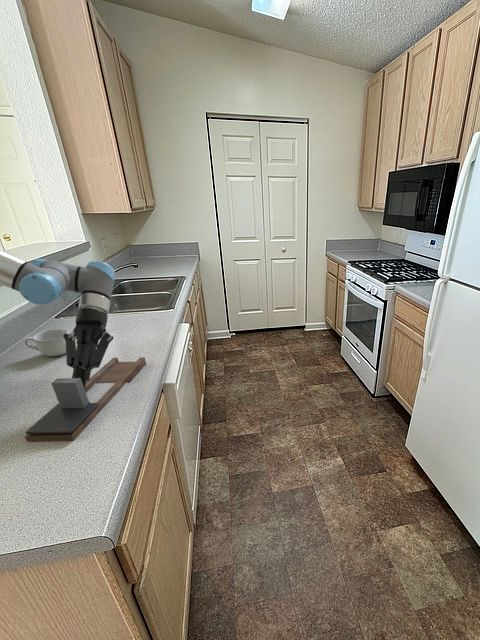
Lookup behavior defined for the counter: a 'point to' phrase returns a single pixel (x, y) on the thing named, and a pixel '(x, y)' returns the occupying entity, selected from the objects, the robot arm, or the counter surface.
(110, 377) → the long wooden tray frame
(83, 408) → the lid
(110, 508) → the counter surface
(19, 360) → the counter surface
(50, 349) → the teacup
